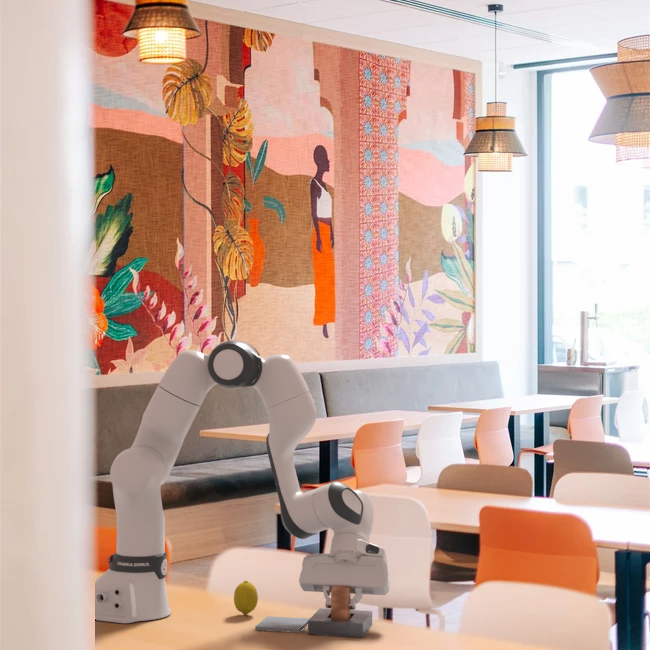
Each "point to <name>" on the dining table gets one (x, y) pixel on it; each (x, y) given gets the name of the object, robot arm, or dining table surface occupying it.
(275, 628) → the mat
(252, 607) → the lemon
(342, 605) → the peg
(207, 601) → the dining table surface
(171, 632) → the dining table surface
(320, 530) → the robot arm
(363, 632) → the collar block
